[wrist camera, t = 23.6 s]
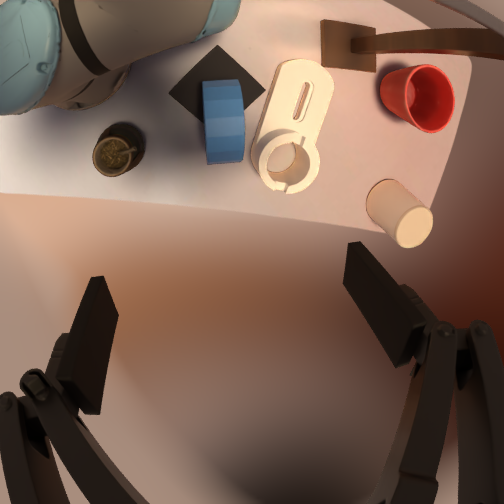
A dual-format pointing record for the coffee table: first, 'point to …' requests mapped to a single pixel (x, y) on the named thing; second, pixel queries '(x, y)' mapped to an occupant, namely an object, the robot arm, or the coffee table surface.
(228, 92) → the tape roll
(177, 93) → the mat
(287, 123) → the bracket
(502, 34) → the peg stand
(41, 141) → the coffee table surface
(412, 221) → the beige cylinder
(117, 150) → the mate gourd
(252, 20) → the coffee table surface
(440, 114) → the flower pot
